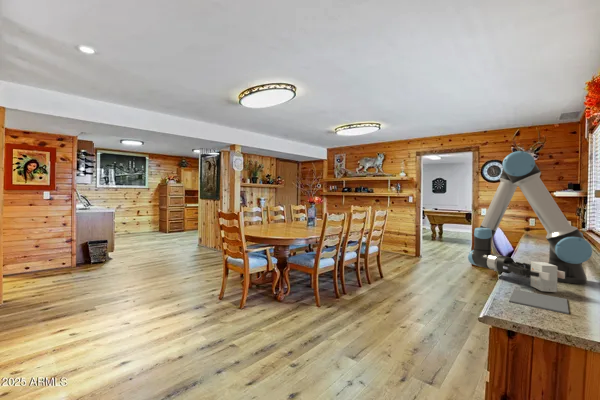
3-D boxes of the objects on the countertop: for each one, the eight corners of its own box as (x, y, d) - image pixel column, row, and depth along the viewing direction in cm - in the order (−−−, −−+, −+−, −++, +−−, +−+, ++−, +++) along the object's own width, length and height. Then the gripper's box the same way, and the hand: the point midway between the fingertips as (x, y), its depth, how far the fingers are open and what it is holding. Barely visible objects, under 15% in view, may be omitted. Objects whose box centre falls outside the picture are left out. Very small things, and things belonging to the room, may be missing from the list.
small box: (557, 292, 117) (558, 266, 116) (541, 291, 118) (542, 265, 118) (544, 286, 124) (545, 261, 124) (529, 285, 125) (530, 261, 125)
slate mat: (514, 290, 120) (514, 289, 120) (566, 300, 110) (566, 298, 110) (509, 301, 107) (509, 300, 107) (568, 314, 96) (568, 312, 96)
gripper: (516, 270, 141) (573, 283, 120) (484, 273, 134) (538, 287, 113) (517, 254, 141) (574, 265, 120) (484, 256, 134) (538, 268, 113)
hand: (556, 276), depth 117 cm, fingers closed on small box, 9 cm apart
